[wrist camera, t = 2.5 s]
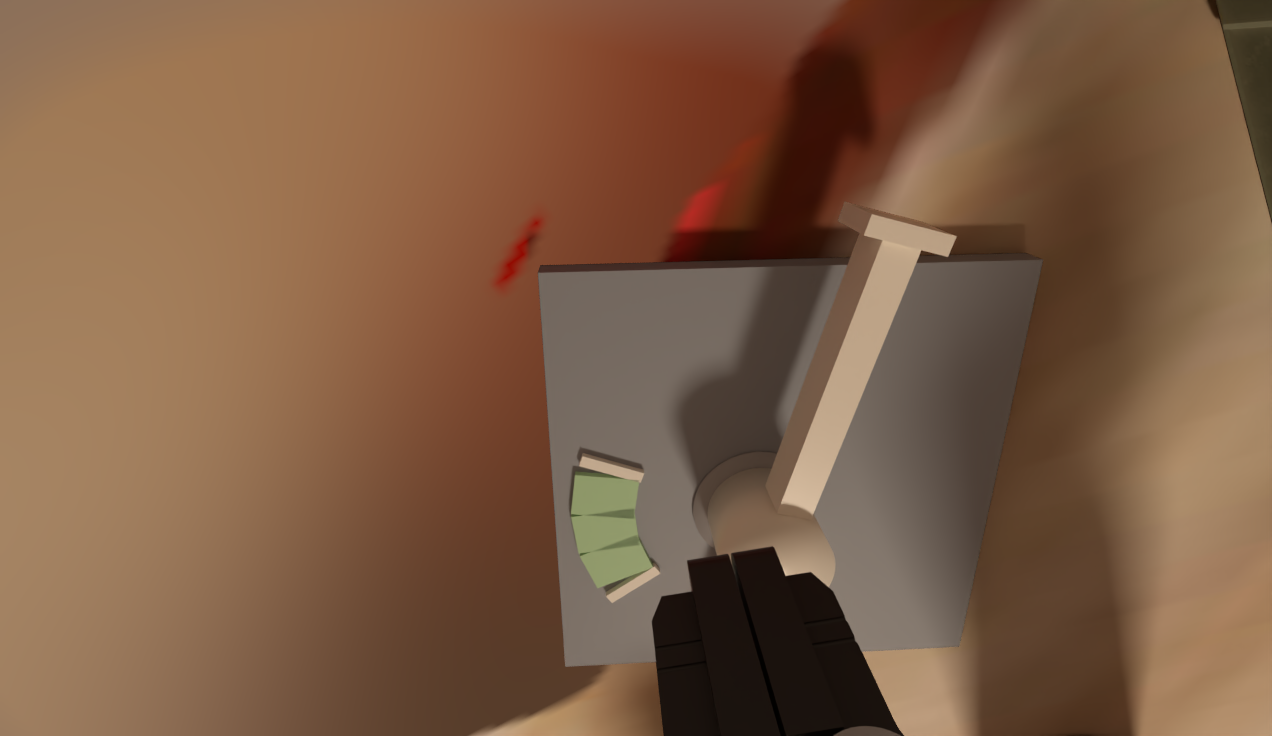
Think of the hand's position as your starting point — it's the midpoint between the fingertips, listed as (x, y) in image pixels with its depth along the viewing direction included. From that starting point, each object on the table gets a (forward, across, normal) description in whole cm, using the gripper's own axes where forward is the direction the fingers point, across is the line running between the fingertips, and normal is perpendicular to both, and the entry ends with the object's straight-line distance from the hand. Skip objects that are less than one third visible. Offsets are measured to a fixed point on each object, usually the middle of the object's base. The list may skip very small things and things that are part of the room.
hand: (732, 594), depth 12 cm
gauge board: (+18, -4, +9) cm, 20 cm away
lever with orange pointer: (+16, -4, +7) cm, 18 cm away
